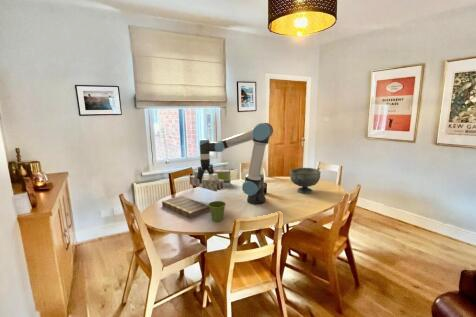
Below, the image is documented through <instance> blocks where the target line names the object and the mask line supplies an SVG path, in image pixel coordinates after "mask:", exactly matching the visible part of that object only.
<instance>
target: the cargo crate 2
mask: <svg viewBox="0 0 476 317" xmlns="http://www.w3.org/2000/svg"><path fill="white" fill-rule="evenodd" d="M208 177H209V180H211V181H216V180H218V174H215V173H213V174H209V173H208Z"/></svg>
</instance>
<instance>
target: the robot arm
mask: <svg viewBox="0 0 476 317" xmlns="http://www.w3.org/2000/svg"><path fill="white" fill-rule="evenodd" d="M273 133H274V128H273V126H272V125H271V124H270V123H268V122H261V123H258V124H256V125H255V126H254V127H253V128H252V129H250V130H248V131H245V132H242V133H239V134H236V135H233V136H231V137H228V138H225V139H221V140H219V141H210V139H208V138H203V139H202V138H201V139H199V145H198V146H199V155H200V157H199V158H200V166H197V170H198V174H197V179H199V183H200V187H199V188H201V187H202V189H204V188H203V179H202V177H203V175H204V174H205V173H206V171H207V173H208V175H209V174H213V173H214V172H215V170H214V167H213V166H214V165H213V164H212V163H211V159H210V158H211V155H210V154H211V153H210V152H214V153H216V152H217V153H223V151H224V150H227V149H229V148H232V147H235V146H238V145H241V144H244V143H247V142H250V141H252V142H253V147H252V152H251V158H250V162H249V169H248V172H247V174H246V175H245V178H244V182H243V183H242V185H241V190H242V191H243V193H244V194H245V195H247V199H246V201H247V203H249V204H252V205H261V204H265V203H266V202H267V199H266V195H265V191H264V190H265V185H264V184H265V182H264V180H265V177H264V174H263V173H261V170H262V165H263V160H264V156H265V150H266V145H268V144H269V142H270V138H271V136H272V135H273Z"/></svg>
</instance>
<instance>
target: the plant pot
mask: <svg viewBox="0 0 476 317" xmlns="http://www.w3.org/2000/svg"><path fill="white" fill-rule="evenodd" d="M226 204H227V203H226V202H225V201H222V200H215V201H211V202H209V203H208V204H207V205H208V206H209V208H210V211H209V212H210V214H211V218H212V221H213V222H215V223H216V222H221V221H223V220H224V215H225V214H224V213H225V207H226Z"/></svg>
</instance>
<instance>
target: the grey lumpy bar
mask: <svg viewBox="0 0 476 317" xmlns="http://www.w3.org/2000/svg"><path fill="white" fill-rule="evenodd" d="M202 179H203V188H202V187H200V183H199V179H197V177H194V174H193V175H189V185H191V186H194V187H199V188H202V189H206V190H209V191H213V192H218V191H222V190H224V189H225V186H224V180H221V179H218V180H216V181H211V180H209V175H208V176H207V175H204V174H203V177H202Z"/></svg>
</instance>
